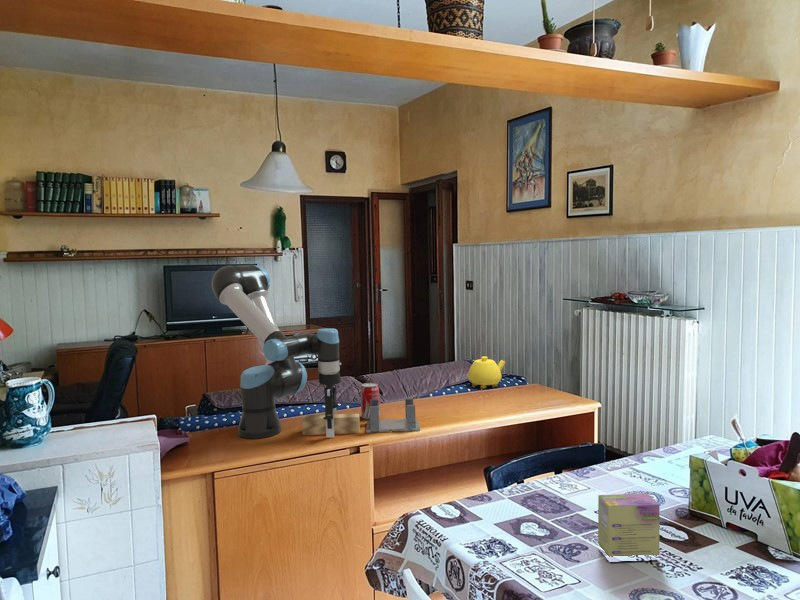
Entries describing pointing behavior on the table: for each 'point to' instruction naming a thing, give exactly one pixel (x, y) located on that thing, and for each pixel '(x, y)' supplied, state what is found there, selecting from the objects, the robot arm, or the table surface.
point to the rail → (341, 424)
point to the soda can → (368, 398)
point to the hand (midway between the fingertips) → (331, 431)
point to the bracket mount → (394, 424)
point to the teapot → (485, 372)
